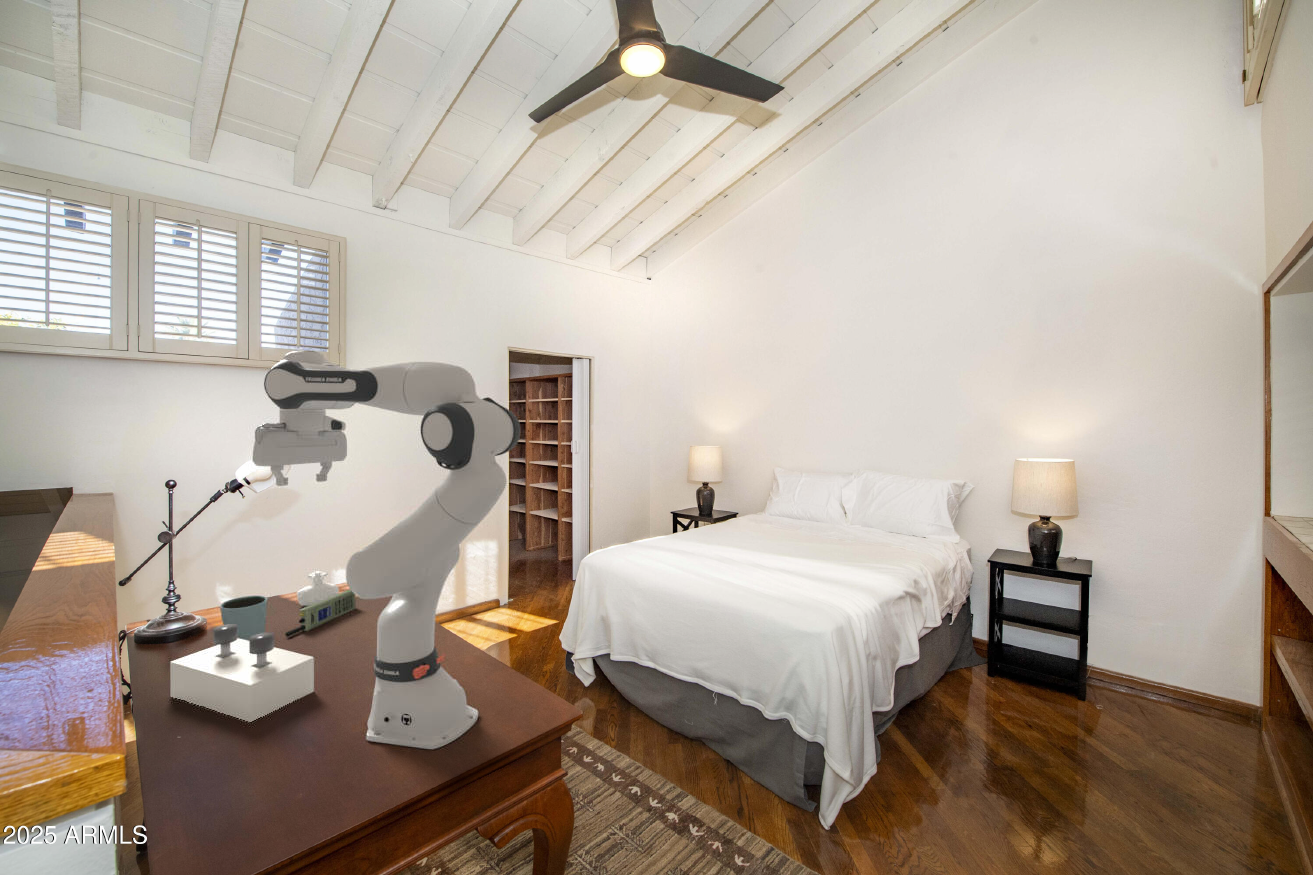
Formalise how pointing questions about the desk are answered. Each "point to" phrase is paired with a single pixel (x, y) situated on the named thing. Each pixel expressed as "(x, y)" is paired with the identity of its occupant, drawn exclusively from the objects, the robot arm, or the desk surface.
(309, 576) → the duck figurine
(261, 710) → the control block
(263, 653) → the knob
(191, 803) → the desk surface
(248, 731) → the desk surface
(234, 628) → the knob
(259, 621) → the teal plant pot
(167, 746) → the desk surface
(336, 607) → the handheld radio
